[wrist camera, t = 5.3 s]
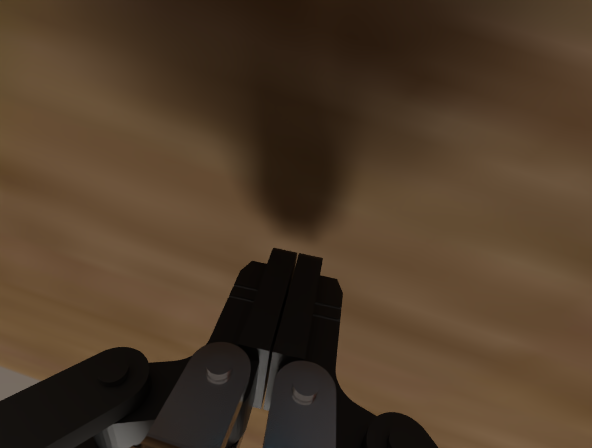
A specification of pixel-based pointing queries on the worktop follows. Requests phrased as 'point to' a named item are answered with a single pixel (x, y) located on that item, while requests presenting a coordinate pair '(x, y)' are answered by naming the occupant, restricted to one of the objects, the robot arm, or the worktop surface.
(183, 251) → the worktop surface
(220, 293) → the worktop surface
